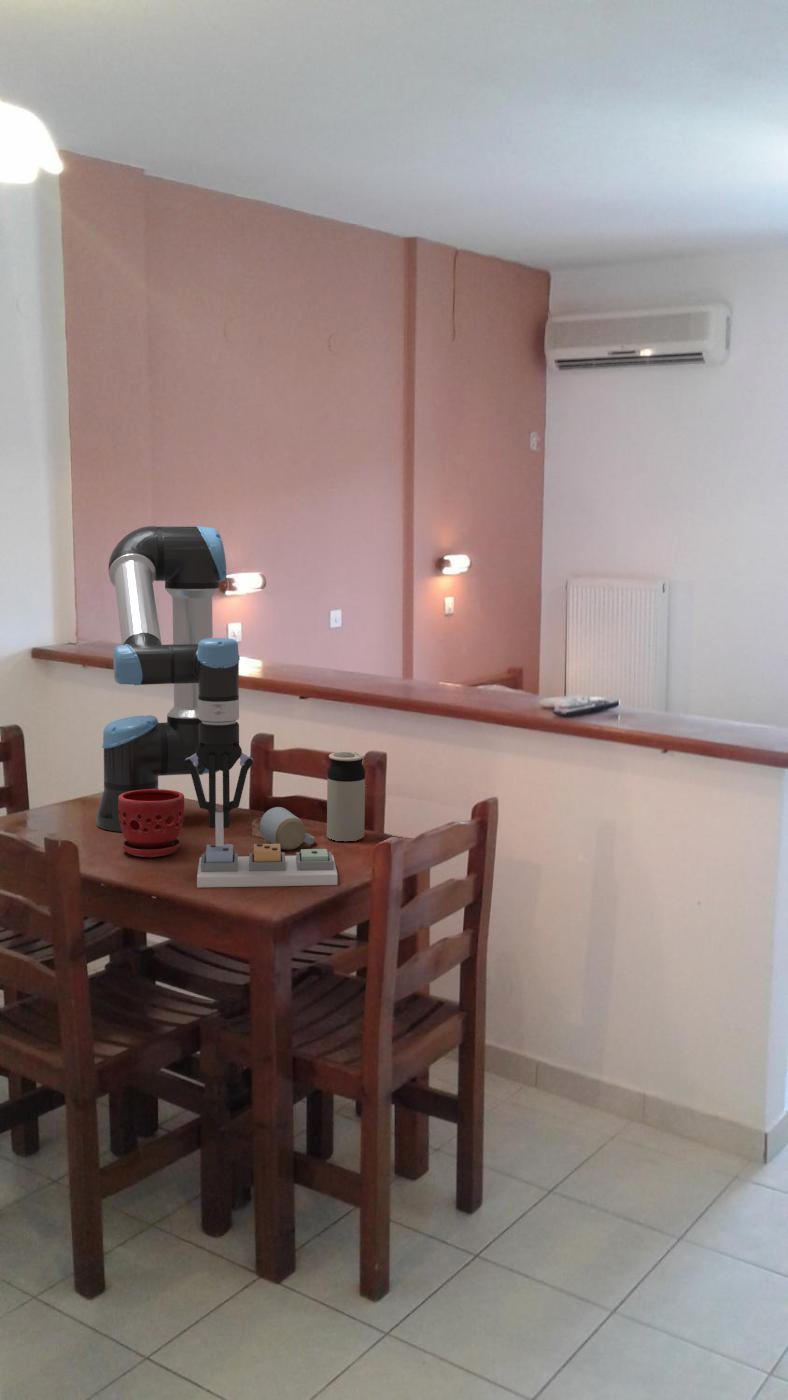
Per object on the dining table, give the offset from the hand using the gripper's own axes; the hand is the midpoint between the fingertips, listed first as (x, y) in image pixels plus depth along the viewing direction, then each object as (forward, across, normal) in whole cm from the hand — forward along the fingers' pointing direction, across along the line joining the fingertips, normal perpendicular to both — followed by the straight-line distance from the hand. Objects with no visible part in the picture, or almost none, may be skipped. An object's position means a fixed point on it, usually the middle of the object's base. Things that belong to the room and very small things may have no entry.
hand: (219, 844), depth 240 cm
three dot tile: (+3, +9, 0) cm, 9 cm away
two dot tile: (+3, 0, 0) cm, 3 cm away
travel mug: (+7, +26, +26) cm, 37 cm away
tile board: (+7, +9, 0) cm, 11 cm away
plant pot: (+7, -14, +18) cm, 24 cm away
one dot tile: (+4, +18, 0) cm, 18 cm away
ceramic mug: (+7, +14, +21) cm, 26 cm away
